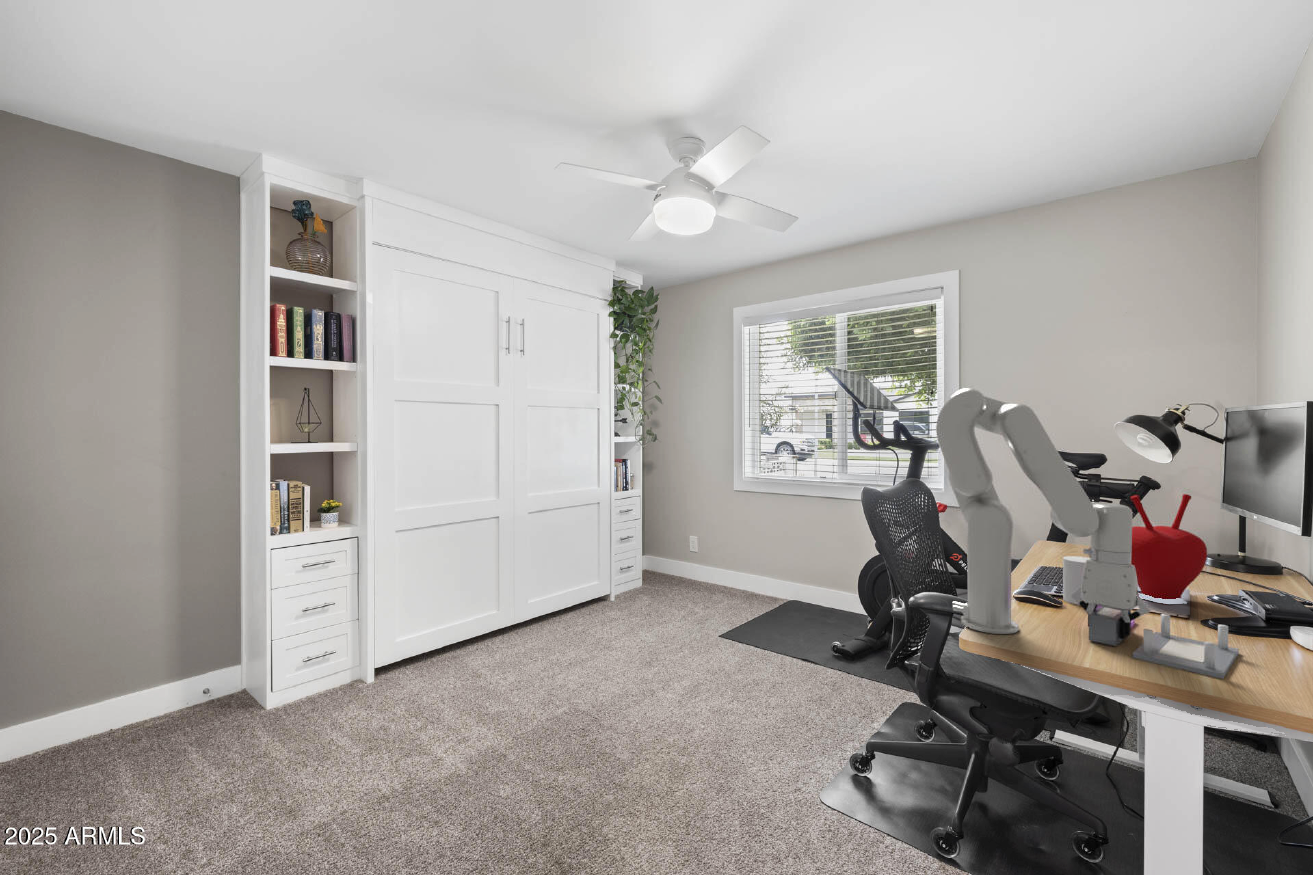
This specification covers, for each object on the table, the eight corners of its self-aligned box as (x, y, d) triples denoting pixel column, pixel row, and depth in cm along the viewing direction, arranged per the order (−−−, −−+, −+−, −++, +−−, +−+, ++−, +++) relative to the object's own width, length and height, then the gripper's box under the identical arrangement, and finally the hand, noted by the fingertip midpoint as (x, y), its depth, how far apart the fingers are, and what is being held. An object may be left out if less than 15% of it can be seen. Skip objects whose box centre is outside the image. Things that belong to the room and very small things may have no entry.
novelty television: (1173, 591, 173) (1173, 491, 172) (1218, 605, 160) (1218, 496, 159) (1107, 594, 171) (1107, 492, 171) (1147, 607, 158) (1147, 498, 158)
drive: (1088, 640, 134) (1089, 613, 134) (1102, 629, 141) (1102, 604, 141) (1115, 646, 130) (1116, 619, 130) (1128, 635, 137) (1128, 610, 137)
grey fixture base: (1132, 657, 125) (1132, 629, 125) (1155, 635, 137) (1155, 610, 137) (1222, 679, 114) (1222, 648, 114) (1238, 653, 126) (1238, 626, 126)
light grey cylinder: (1105, 605, 160) (1105, 562, 160) (1076, 605, 161) (1076, 562, 160) (1084, 597, 169) (1084, 556, 168) (1056, 597, 169) (1056, 556, 169)
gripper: (1062, 552, 140) (1060, 627, 140) (1153, 566, 126) (1151, 649, 127) (1072, 548, 144) (1071, 621, 145) (1162, 561, 131) (1159, 641, 131)
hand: (1108, 633), depth 136 cm, fingers closed on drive, 5 cm apart
